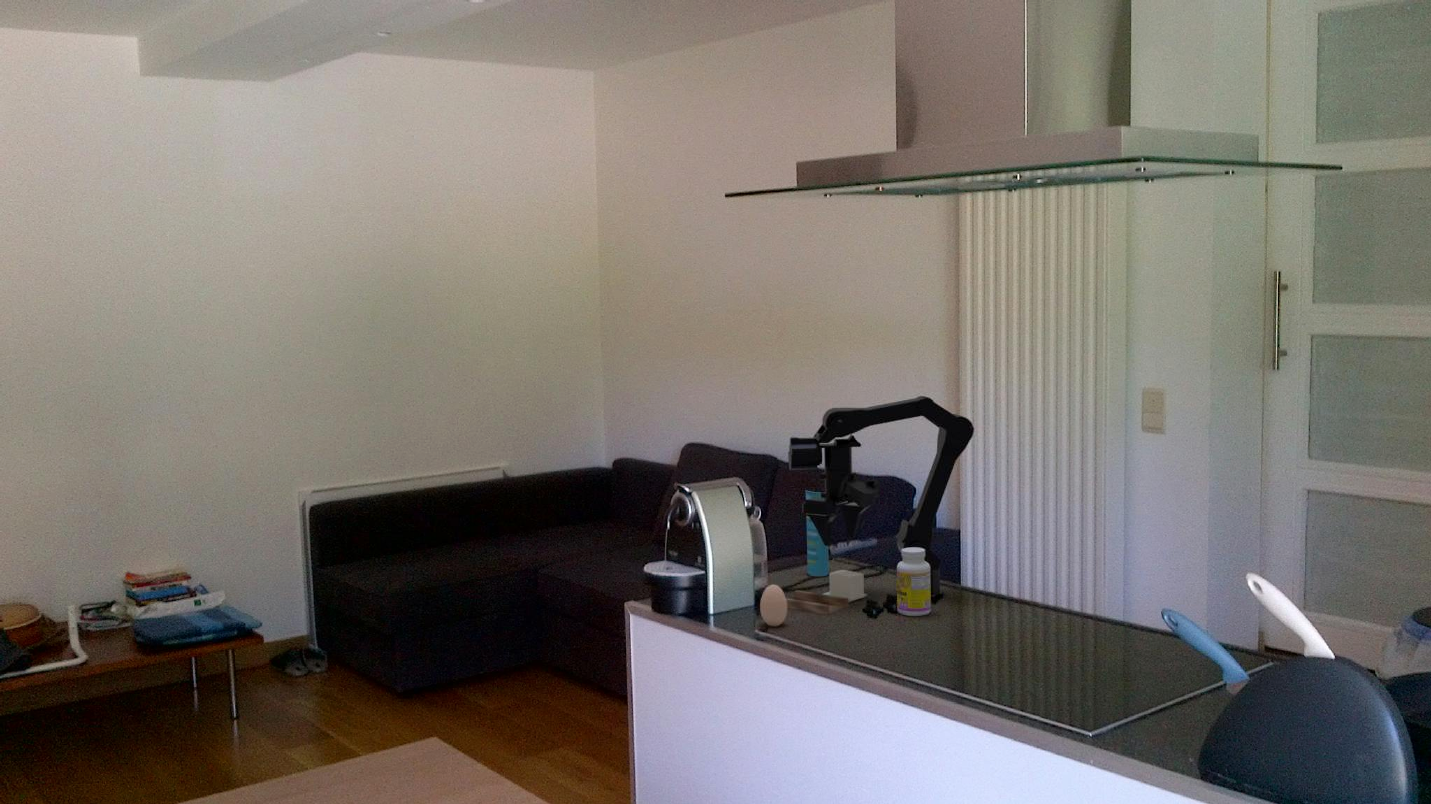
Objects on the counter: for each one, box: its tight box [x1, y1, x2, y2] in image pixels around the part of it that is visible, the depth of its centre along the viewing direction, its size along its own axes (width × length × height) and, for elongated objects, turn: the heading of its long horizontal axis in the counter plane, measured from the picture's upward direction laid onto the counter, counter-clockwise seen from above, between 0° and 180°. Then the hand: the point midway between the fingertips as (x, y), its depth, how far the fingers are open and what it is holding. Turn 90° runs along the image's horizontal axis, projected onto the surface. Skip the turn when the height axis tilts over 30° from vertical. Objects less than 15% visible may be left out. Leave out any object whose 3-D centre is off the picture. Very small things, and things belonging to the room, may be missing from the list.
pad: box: [822, 590, 868, 603], centre depth 266 cm, size 8×8×1 cm
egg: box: [759, 584, 788, 627], centre depth 245 cm, size 5×5×8 cm
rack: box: [786, 589, 850, 616], centre depth 259 cm, size 13×8×2 cm, turn 50°
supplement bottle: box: [896, 547, 932, 617], centre depth 252 cm, size 7×7×13 cm
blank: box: [828, 569, 865, 602], centre depth 265 cm, size 6×4×5 cm, turn 42°
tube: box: [805, 490, 830, 577], centre depth 289 cm, size 7×5×19 cm, turn 43°
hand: (839, 542), depth 265 cm, fingers open, 9 cm apart
